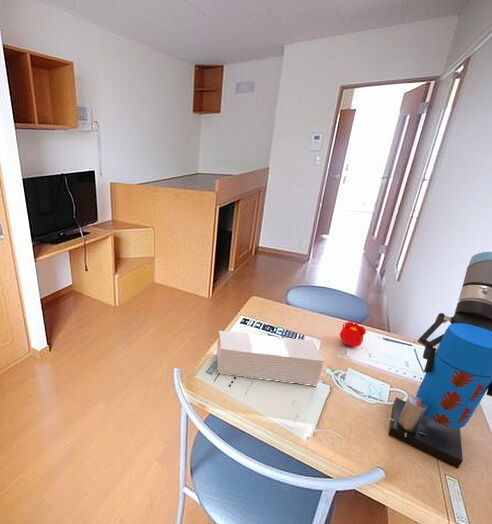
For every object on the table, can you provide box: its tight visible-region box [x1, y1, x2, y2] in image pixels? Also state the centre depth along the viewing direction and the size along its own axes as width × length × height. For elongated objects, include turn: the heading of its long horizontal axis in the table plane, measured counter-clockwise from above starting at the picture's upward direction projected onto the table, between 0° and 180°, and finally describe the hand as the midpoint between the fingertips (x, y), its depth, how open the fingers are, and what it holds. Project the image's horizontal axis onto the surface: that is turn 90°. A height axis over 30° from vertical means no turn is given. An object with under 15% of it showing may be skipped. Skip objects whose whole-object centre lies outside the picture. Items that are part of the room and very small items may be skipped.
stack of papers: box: [215, 330, 325, 387], centre depth 106 cm, size 32×11×11 cm, turn 79°
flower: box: [339, 321, 367, 347], centre depth 120 cm, size 8×8×8 cm
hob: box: [387, 397, 464, 469], centre depth 84 cm, size 15×15×3 cm
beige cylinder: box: [397, 395, 428, 433], centre depth 82 cm, size 4×4×9 cm
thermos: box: [415, 323, 492, 429], centre depth 78 cm, size 11×11×25 cm
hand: (457, 382), depth 76 cm, fingers closed on thermos, 11 cm apart
